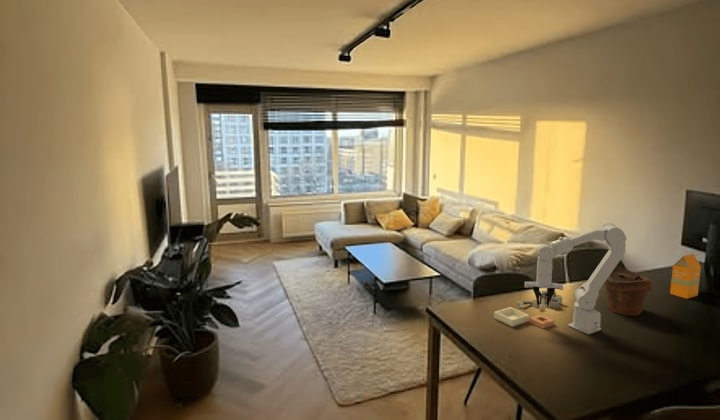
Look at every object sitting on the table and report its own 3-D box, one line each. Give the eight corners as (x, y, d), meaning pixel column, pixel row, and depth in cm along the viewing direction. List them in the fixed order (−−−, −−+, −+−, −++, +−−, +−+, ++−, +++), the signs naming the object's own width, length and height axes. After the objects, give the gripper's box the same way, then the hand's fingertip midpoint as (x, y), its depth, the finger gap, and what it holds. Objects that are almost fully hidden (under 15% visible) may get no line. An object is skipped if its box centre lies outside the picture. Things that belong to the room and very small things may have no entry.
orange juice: (669, 293, 208) (673, 254, 205) (680, 290, 212) (684, 251, 208) (687, 298, 201) (692, 258, 198) (698, 295, 205) (702, 255, 201)
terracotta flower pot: (651, 322, 177) (654, 281, 174) (596, 311, 189) (599, 273, 186) (653, 309, 191) (657, 270, 188) (603, 299, 203) (605, 263, 200)
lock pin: (548, 311, 177) (549, 293, 175) (542, 313, 175) (544, 295, 174) (541, 309, 180) (542, 291, 178) (536, 310, 178) (537, 292, 177)
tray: (528, 321, 180) (529, 314, 180) (512, 327, 176) (512, 320, 175) (510, 313, 189) (510, 307, 189) (493, 318, 184) (494, 311, 184)
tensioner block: (554, 324, 177) (554, 320, 177) (543, 328, 174) (543, 324, 173) (540, 318, 183) (540, 314, 183) (528, 322, 180) (529, 317, 179)
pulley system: (575, 303, 201) (546, 292, 213) (576, 294, 200) (547, 284, 212) (540, 320, 186) (511, 307, 198) (541, 310, 185) (512, 298, 197)
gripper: (526, 275, 173) (524, 306, 175) (565, 277, 169) (563, 310, 171) (524, 270, 180) (523, 300, 182) (562, 272, 175) (560, 303, 178)
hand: (542, 304), depth 177 cm, fingers closed on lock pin, 3 cm apart
